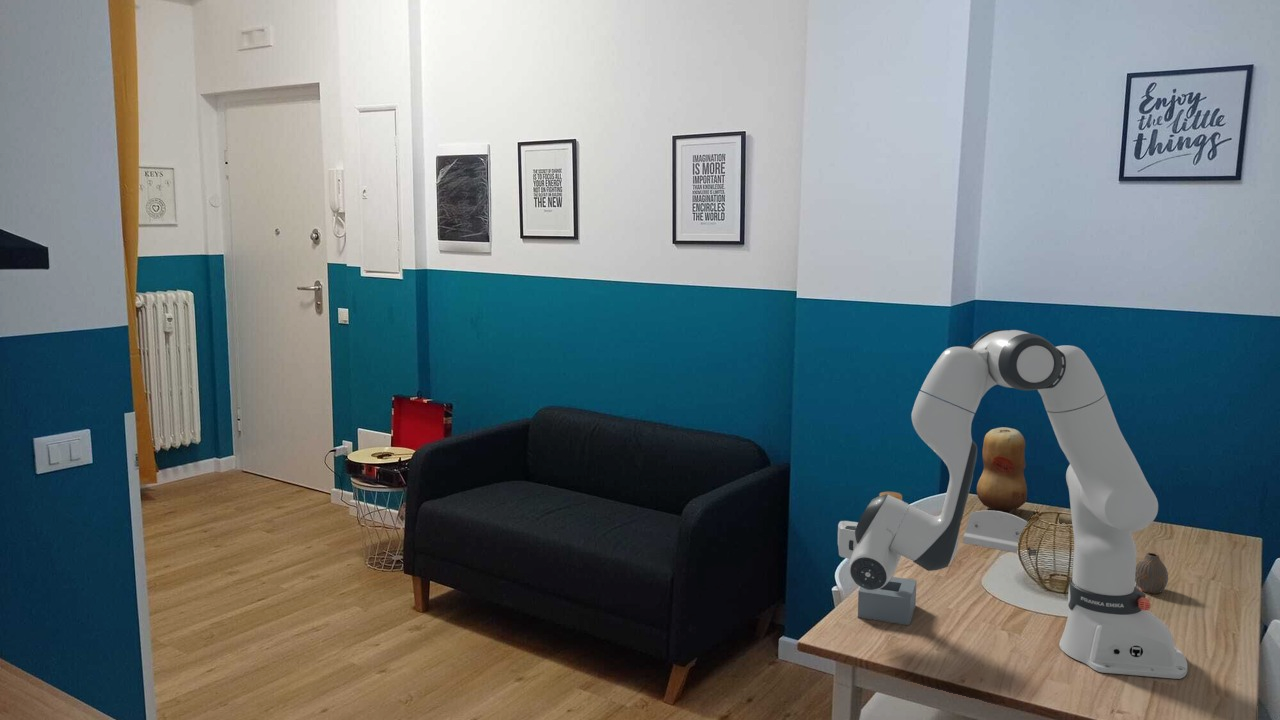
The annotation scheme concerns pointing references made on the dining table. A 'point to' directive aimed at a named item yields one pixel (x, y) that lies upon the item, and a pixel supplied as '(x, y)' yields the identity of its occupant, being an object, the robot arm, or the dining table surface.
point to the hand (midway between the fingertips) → (890, 526)
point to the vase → (1151, 574)
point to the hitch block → (889, 601)
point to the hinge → (994, 530)
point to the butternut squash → (1003, 470)
